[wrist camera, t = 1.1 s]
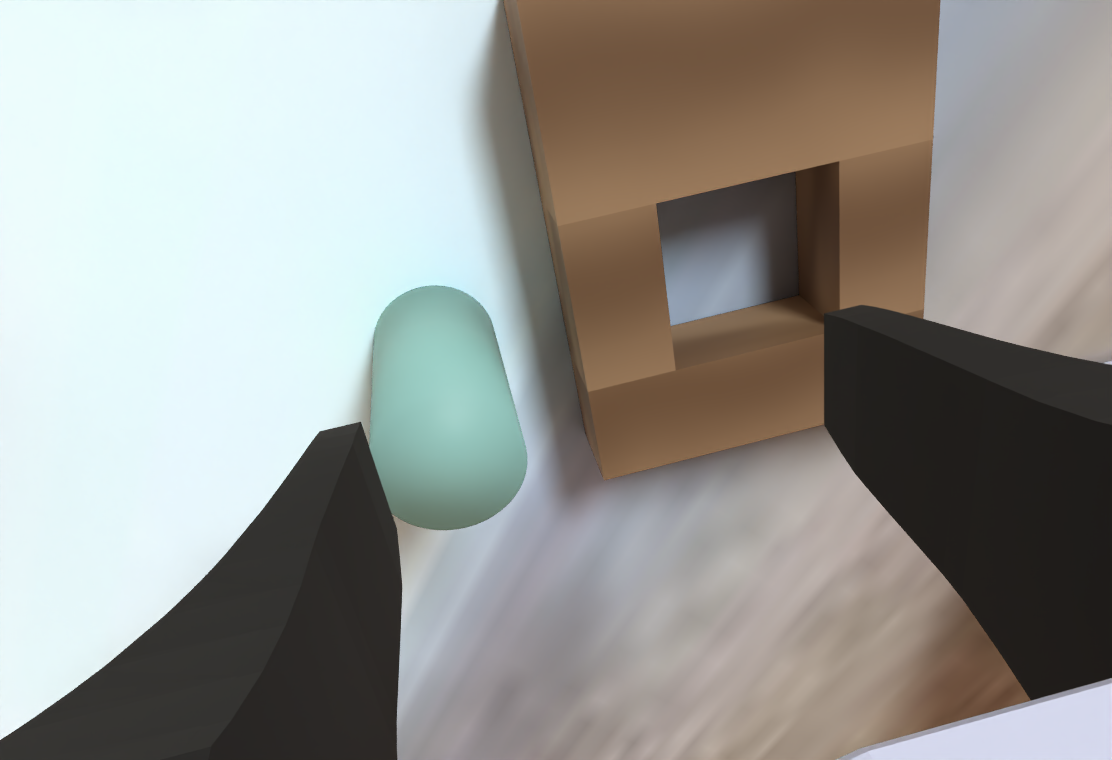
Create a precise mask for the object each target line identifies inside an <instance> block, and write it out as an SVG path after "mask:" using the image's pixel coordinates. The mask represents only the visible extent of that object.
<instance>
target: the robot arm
mask: <svg viewBox="0 0 1112 760" xmlns="http://www.w3.org/2000/svg"><path fill="white" fill-rule="evenodd" d="M824 425H825V427H826V429H827V430H828V432H829V434H830V435H831V437H832V438H833V440H834V442H835V443H836V445H837V447H838V448H839V450H840V452H841V453H842V455H843V456H844V458H845V459H846V461H847V462H848V464H849V465H850V467H851V468H852V470H853V471H854V473H855V474H856V475H857V476H858V478H859V479H860V480H861V481H862V482H863V484H864V485H865V486H866V487H867V488H868V489H869V491H870V492H871V493H872V494H873V495H874V496H875V498H876V499H877V500H878V501H879V502H880V503H881V505H882V506H883V507H884V508H885V509H886V510H887V512H888V513H889V514H890V515H891V516H892V517H893V518H894V519H895V521H896V522H897V523H898V524H899V525H900V526H901V527H902V529H903V530H904V531H905V532H906V533H907V534H908V535H909V536H910V538H911V539H912V540H913V541H914V542H915V543H916V544H917V546H918V547H919V548H920V549H921V550H922V551H923V552H924V554H925V555H926V556H927V557H928V558H929V559H930V560H931V562H932V563H933V564H934V565H935V566H936V567H937V568H938V569H939V571H940V572H941V573H942V574H943V575H944V577H945V578H946V579H947V580H948V581H949V583H950V584H951V585H952V586H953V588H954V589H955V590H956V591H957V593H958V594H959V595H960V596H961V598H962V599H963V600H964V602H965V603H966V605H967V606H968V608H969V609H970V610H971V612H972V613H973V615H974V616H975V618H976V619H977V620H978V622H979V623H980V625H981V626H982V628H983V629H984V631H985V632H986V633H987V635H988V636H989V638H990V639H991V641H992V642H993V643H994V645H995V646H996V648H997V649H998V651H999V652H1000V654H1001V655H1002V657H1003V658H1004V660H1005V661H1006V663H1007V664H1008V666H1009V667H1010V669H1011V670H1012V672H1013V673H1014V675H1015V676H1016V678H1017V680H1018V681H1019V683H1020V684H1021V686H1022V687H1023V689H1024V690H1025V692H1026V693H1027V695H1028V696H1029V698H1030V699H1031V701H1028V702H1024V703H1021V704H1017V705H1014V706H1010V707H1006V708H1003V709H999V710H996V711H992V712H989V713H985V714H981V715H978V716H974V717H971V718H967V719H963V720H960V721H956V722H953V723H949V724H946V725H942V726H938V727H935V728H931V729H928V730H924V731H920V732H917V733H913V734H910V735H906V736H902V737H899V738H895V739H892V740H888V741H885V742H881V743H877V744H874V745H870V746H867V747H863V748H860V749H858V750H856V751H853V752H851V753H849V754H847V755H845V756H842V757H840V758H838V759H836V760H1112V361H1109V362H1105V363H1098V362H1093V361H1088V360H1082V359H1077V358H1072V357H1067V356H1063V355H1059V354H1054V353H1050V352H1046V351H1041V350H1037V349H1033V348H1028V347H1024V346H1020V345H1016V344H1012V343H1008V342H1004V341H1000V340H996V339H993V338H989V337H985V336H982V335H978V334H974V333H971V332H967V331H964V330H960V329H957V328H953V327H950V326H946V325H943V324H939V323H935V322H932V321H928V320H925V319H921V318H918V317H914V316H911V315H907V314H903V313H899V312H895V311H892V310H887V309H883V308H878V307H873V306H867V305H858V306H854V307H850V308H845V309H841V310H837V311H832V312H828V313H824ZM401 607H402V578H401V566H400V556H399V546H398V536H397V528H396V525H395V522H394V519H393V516H392V513H391V510H390V507H389V504H388V501H387V499H386V496H385V493H384V490H383V487H382V484H381V481H380V478H379V475H378V472H377V469H376V466H375V463H374V460H373V457H372V454H371V451H370V448H369V445H368V442H367V439H366V436H365V433H364V430H363V427H362V424H361V422H358V423H354V424H350V425H345V426H341V427H337V428H333V429H328V430H324V431H320V432H319V433H318V434H317V436H316V437H315V438H314V440H313V441H312V442H311V444H310V445H309V446H308V448H307V449H306V451H305V452H304V453H303V455H302V456H301V458H300V459H299V461H298V462H297V463H296V465H295V466H294V468H293V469H292V470H291V472H290V473H289V475H288V476H287V477H286V479H285V480H284V481H283V483H282V484H281V486H280V487H279V488H278V490H277V491H276V492H275V494H274V495H273V496H272V498H271V499H270V500H269V502H268V503H267V504H266V506H265V507H264V508H263V510H262V511H261V512H260V513H259V515H258V516H257V517H256V518H255V519H254V521H253V522H252V523H251V524H250V525H249V527H248V528H247V529H246V530H245V531H244V533H243V534H242V535H241V536H240V537H239V539H238V540H237V541H236V542H235V543H234V545H233V546H232V547H231V548H230V549H229V551H228V552H227V553H226V554H225V555H224V557H223V558H222V559H221V560H220V561H219V562H218V563H217V564H216V565H215V566H214V568H213V569H212V570H211V571H210V572H209V573H208V574H207V575H206V576H205V577H204V578H203V579H202V580H201V581H200V582H199V583H198V584H197V585H196V586H195V587H194V588H193V589H192V590H191V591H190V592H189V593H188V594H187V595H186V596H185V597H184V598H183V599H182V600H181V601H180V602H179V603H178V604H177V605H176V606H175V607H174V608H172V609H171V610H170V611H169V612H168V613H167V614H166V615H165V616H164V617H163V618H161V619H160V620H159V621H158V622H157V623H156V624H154V625H153V626H152V627H151V628H150V629H148V630H147V631H146V632H145V633H144V634H143V635H141V636H140V637H139V638H138V639H137V640H135V641H134V642H133V643H132V644H131V645H130V646H128V647H127V648H126V649H125V650H124V651H122V652H121V653H120V654H119V655H118V656H117V657H115V658H114V659H113V660H112V661H111V662H109V663H108V664H107V665H106V666H104V667H103V668H102V669H100V670H99V671H98V672H96V673H95V674H94V675H92V676H91V677H90V678H89V679H87V680H86V681H85V682H83V683H82V684H81V685H79V686H78V687H77V688H75V689H74V690H73V691H71V692H70V693H68V694H67V695H66V696H64V697H63V698H61V699H60V700H59V701H57V702H56V703H54V704H53V705H51V706H50V707H49V708H47V709H46V710H44V711H43V712H42V713H40V714H39V715H37V716H36V717H34V718H33V719H31V720H30V721H29V722H27V723H26V724H24V725H23V726H21V727H20V728H18V729H17V730H15V731H14V732H12V733H11V734H9V735H7V736H6V737H4V738H3V739H1V740H0V760H397V698H398V676H399V654H400V632H401Z"/></svg>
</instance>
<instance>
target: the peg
mask: <svg viewBox="0 0 1112 760" xmlns="http://www.w3.org/2000/svg"><path fill="white" fill-rule="evenodd" d="M369 448H370V451H371V454H372V457H373V460H374V463H375V466H376V469H377V472H378V475H379V478H380V481H381V484H382V487H383V490H384V493H385V496H386V499H387V501H388V504H389V507H390V510H391V513H392V514H393V515H395V516H396V517H398V518H399V519H401V520H403V521H405V522H407V523H409V524H412V525H415V526H418V527H422V528H426V529H433V530H453V529H461V528H465V527H469V526H472V525H476V524H478V523H481V522H483V521H485V520H487V519H489V518H491V517H492V516H494V515H495V514H497V513H498V512H500V511H501V510H502V509H503V508H504V507H506V506H507V505H508V504H509V503H510V501H511V500H512V499H513V498H514V497H515V495H516V494H517V492H518V491H519V489H520V487H521V485H522V483H523V480H524V477H525V474H526V469H527V452H526V446H525V443H524V439H523V435H522V431H521V428H520V424H519V420H518V417H517V413H516V409H515V405H514V402H513V398H512V394H511V391H510V387H509V383H508V379H507V376H506V372H505V368H504V365H503V361H502V357H501V354H500V350H499V346H498V342H497V339H496V335H495V331H494V328H493V324H492V321H491V319H490V317H489V315H488V313H487V312H486V310H485V309H484V308H483V307H482V305H481V304H480V303H479V302H478V301H476V300H475V299H474V298H473V297H471V296H470V295H468V294H467V293H464V292H462V291H460V290H457V289H454V288H451V287H446V286H425V287H419V288H416V289H413V290H410V291H408V292H406V293H404V294H402V295H400V296H399V297H397V298H396V299H395V300H393V301H392V302H391V303H390V304H389V305H388V306H387V307H386V309H385V310H384V311H383V313H382V314H381V316H380V318H379V320H378V322H377V325H376V328H375V333H374V348H373V372H372V395H371V419H370V442H369Z"/></svg>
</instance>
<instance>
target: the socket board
mask: <svg viewBox="0 0 1112 760" xmlns="http://www.w3.org/2000/svg"><path fill="white" fill-rule="evenodd" d="M503 2H504V7H505V12H506V17H507V23H508V28H509V33H510V39H511V44H512V49H513V54H514V60H515V65H516V70H517V75H518V81H519V86H520V91H521V97H522V102H523V107H524V112H525V118H526V123H527V128H528V133H529V139H530V144H531V149H532V154H533V160H534V165H535V170H536V176H537V181H538V186H539V191H540V197H541V202H542V207H543V212H544V218H545V223H546V228H547V234H548V239H549V244H550V249H551V255H552V260H553V265H554V270H555V276H556V281H557V286H558V292H559V297H560V302H561V307H562V313H563V318H564V323H565V328H566V334H567V339H568V344H569V350H570V355H571V360H572V365H573V371H574V376H575V381H576V386H577V392H578V397H579V402H580V408H581V413H582V418H583V423H584V429H585V434H586V436H587V439H588V441H589V444H590V446H591V449H592V451H593V454H594V456H595V459H596V461H597V464H598V466H599V469H600V471H601V474H602V477H603V479H604V480H608V479H612V478H616V477H619V476H623V475H627V474H631V473H635V472H639V471H643V470H647V469H651V468H655V467H659V466H663V465H667V464H671V463H674V462H678V461H682V460H686V459H690V458H694V457H698V456H702V455H706V454H710V453H714V452H718V451H722V450H725V449H729V448H733V447H737V446H741V445H745V444H749V443H753V442H757V441H761V440H765V439H769V438H773V437H776V436H780V435H784V434H788V433H792V432H796V431H800V430H804V429H808V428H812V427H816V426H820V425H824V313H828V312H832V311H837V310H841V309H845V308H850V307H854V306H858V305H867V306H873V307H878V308H883V309H887V310H892V311H895V312H899V313H903V314H907V315H911V316H914V317H918V318H921V319H923V314H924V295H925V276H926V258H927V239H928V220H929V202H930V183H931V165H932V146H933V127H934V109H935V90H936V72H937V53H938V34H939V16H940V0H503ZM794 171H795V173H796V206H797V240H798V273H799V295H798V296H793V297H789V298H785V299H781V300H777V301H773V302H769V303H765V304H760V305H756V306H752V307H748V308H744V309H740V310H736V311H732V312H727V313H723V314H719V315H715V316H711V317H707V318H703V319H699V320H694V321H690V322H686V323H682V324H678V325H674V326H670V318H669V309H668V301H667V292H666V284H665V275H664V267H663V258H662V250H661V241H660V233H659V224H658V216H657V207H656V203H660V202H664V201H669V200H673V199H677V198H682V197H686V196H690V195H695V194H699V193H703V192H708V191H712V190H716V189H721V188H725V187H729V186H734V185H738V184H742V183H747V182H751V181H755V180H760V179H764V178H768V177H773V176H777V175H781V174H786V173H790V172H794Z"/></svg>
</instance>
